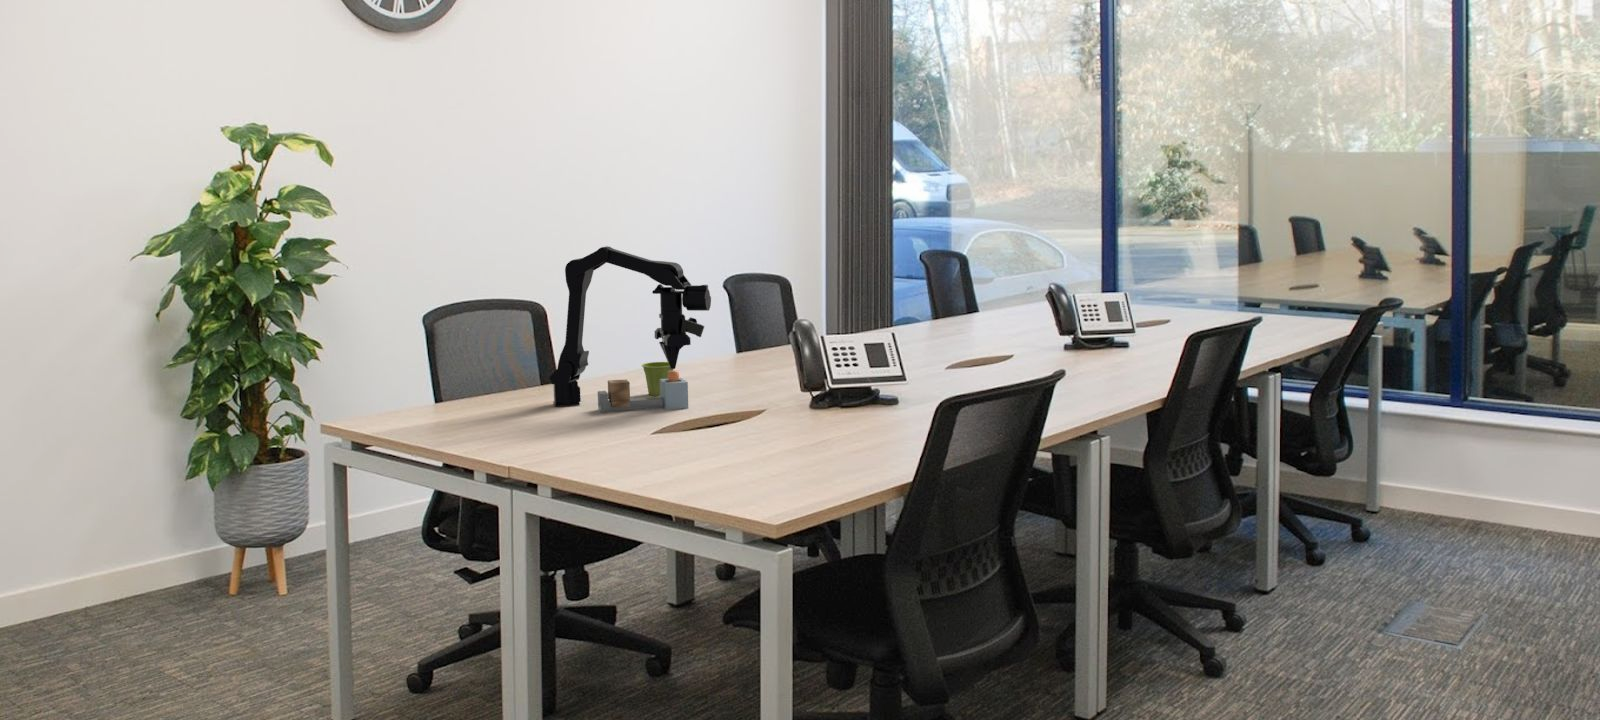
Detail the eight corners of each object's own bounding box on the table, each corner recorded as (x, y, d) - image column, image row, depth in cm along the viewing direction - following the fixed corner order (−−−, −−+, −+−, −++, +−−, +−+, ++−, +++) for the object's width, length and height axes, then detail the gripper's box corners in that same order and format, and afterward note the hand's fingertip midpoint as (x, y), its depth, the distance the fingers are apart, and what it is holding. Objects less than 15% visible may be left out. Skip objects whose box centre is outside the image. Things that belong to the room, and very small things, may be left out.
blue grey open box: (666, 409, 363) (665, 383, 362) (660, 404, 370) (659, 379, 369) (688, 408, 364) (687, 382, 363) (682, 403, 372) (681, 377, 371)
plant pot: (674, 397, 383) (673, 366, 381) (640, 397, 383) (639, 366, 382) (678, 391, 392) (677, 361, 391) (645, 392, 392) (644, 362, 391)
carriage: (611, 407, 360) (610, 383, 359) (608, 404, 365) (607, 380, 364) (630, 406, 361) (629, 382, 360) (627, 403, 366) (626, 379, 365)
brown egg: (669, 385, 365) (668, 372, 364) (667, 384, 368) (666, 370, 367) (680, 385, 366) (679, 371, 365) (678, 383, 368) (677, 370, 368)
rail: (601, 412, 359) (600, 394, 359) (598, 409, 364) (597, 391, 363) (668, 408, 364) (668, 389, 364) (665, 405, 369) (664, 387, 368)
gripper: (708, 312, 357) (710, 371, 359) (693, 305, 375) (695, 362, 377) (666, 314, 354) (668, 374, 356) (653, 307, 372) (655, 364, 374)
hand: (672, 368), depth 366 cm, fingers closed
